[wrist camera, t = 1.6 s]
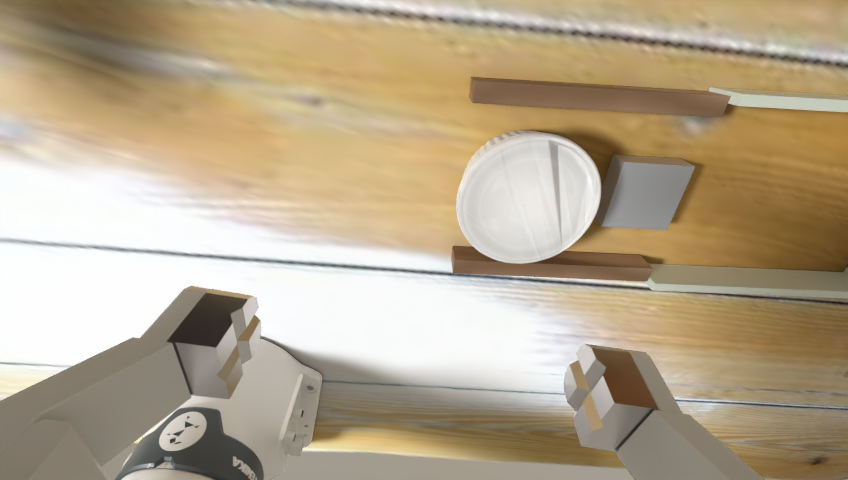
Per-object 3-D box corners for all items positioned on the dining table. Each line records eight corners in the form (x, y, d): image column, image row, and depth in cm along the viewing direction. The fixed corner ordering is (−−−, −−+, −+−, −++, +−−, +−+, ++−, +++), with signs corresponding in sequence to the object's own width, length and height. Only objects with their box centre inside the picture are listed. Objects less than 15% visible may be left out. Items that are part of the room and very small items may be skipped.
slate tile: (652, 217, 35) (666, 230, 33) (590, 214, 35) (601, 226, 33) (677, 157, 32) (695, 166, 30) (610, 152, 32) (624, 162, 30)
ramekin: (602, 177, 33) (631, 201, 28) (509, 255, 37) (521, 287, 33) (521, 88, 29) (540, 99, 25) (427, 186, 33) (428, 211, 29)
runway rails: (634, 266, 38) (647, 281, 36) (451, 258, 37) (453, 273, 35) (708, 91, 29) (731, 96, 27) (471, 77, 29) (475, 81, 26)
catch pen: (845, 278, 39) (881, 300, 36) (633, 269, 38) (651, 290, 35) (983, 103, 30) (1047, 112, 27) (709, 87, 29) (743, 94, 26)
